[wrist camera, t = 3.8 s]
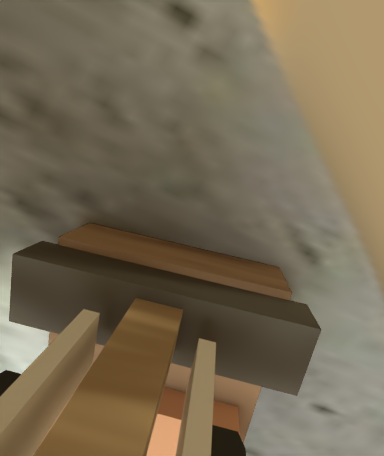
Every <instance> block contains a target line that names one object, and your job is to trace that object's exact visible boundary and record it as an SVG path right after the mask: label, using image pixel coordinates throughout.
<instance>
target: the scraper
mask: <svg viewBox="0 0 384 456" xmlns="http://www.w3.org/2000/svg"><path fill="white" fill-rule="evenodd" d="M83 309H86V310H89V311H93V312H97V313H100V316H99V323H98V330H97V337H96V344H99V345H103V346H104V348H103V349H102V351H101V352H100V354H99V355H98V357H97V358H96V360H95V362H94V363H93V365H92V366H91V368H90V369H89V371H88V372H87V374H86V375H85V377H84V379H83V380H82V382H81V383H80V385H79V386H78V388H77V389H76V391H75V392H74V394H73V395H72V397H71V399H70V400H69V402H68V403H67V405H66V406H65V408H64V409H63V411H62V412H61V414H60V416H59V417H58V419H57V420H56V422H55V423H54V425H53V426H52V428H51V429H50V431H49V433H48V434H47V436H46V437H45V439H44V440H43V442H42V443H41V445H40V446H39V448H38V449H37V451H36V453H35V454H34V456H146V455H147V451H148V447H149V443H150V440H151V436H152V432H153V428H154V425H155V421H156V417H157V413H158V410H159V406H160V402H161V398H162V395H163V391H164V387H165V383H166V379H167V376H168V372H169V368H170V364H171V363H173V364H176V365H180V366H184V367H188V368H192V365H193V361H194V357H195V353H196V349H197V345H198V341H199V338H200V339H204V340H208V341H212V342H216V356H215V375H219V376H223V377H227V378H230V379H234V380H238V381H242V382H246V383H250V384H253V385H257V386H261V387H265V388H269V389H273V390H277V391H280V392H284V393H288V394H292V395H296V396H297V395H298V392H299V389H300V386H301V384H302V381H303V378H304V375H305V373H306V370H307V367H308V364H309V362H310V359H311V356H312V353H313V351H314V348H315V345H316V342H317V340H318V337H319V334H320V332H321V328H320V327H319V325H318V323H317V321H316V320H315V318H314V316H313V314H312V313H311V311H310V309H309V307H308V306H307V305H306V304H302V303H298V302H294V301H290V300H286V299H282V298H277V297H273V296H269V295H265V294H261V293H257V292H252V291H248V290H244V289H240V288H236V287H232V286H227V285H223V284H219V283H215V282H211V281H207V280H203V279H198V278H194V277H190V276H186V275H182V274H178V273H173V272H169V271H165V270H161V269H157V268H153V267H149V266H144V265H140V264H136V263H132V262H128V261H124V260H119V259H115V258H111V257H107V256H103V255H99V254H95V253H90V252H86V251H82V250H78V249H74V248H70V247H65V246H61V245H57V244H53V243H49V242H45V241H41V242H39V243H37V244H34V245H32V246H30V247H27V248H25V249H23V250H21V251H18V252H16V253H14V254H13V259H12V277H11V295H10V313H9V321H11V322H15V323H19V324H22V325H26V326H30V327H34V328H38V329H42V330H46V331H49V332H53V333H57V334H60V333H61V332H62V331H63V330H64V329H65V328H66V327H67V326H68V325H69V324H70V323H71V322H72V321H73V320H74V319H75V318H76V316H77V315H78V314H79V313H80V312H81V311H82V310H83Z"/></svg>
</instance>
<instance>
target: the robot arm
mask: <svg viewBox="0 0 384 456" xmlns="http://www.w3.org/2000/svg"><path fill="white" fill-rule="evenodd" d="M99 316H100V313H97V312H93V311H89V310H86V309H83V310H82V311H81V312H80V313H79V314H78V315H77V316H76V318H75V319H74V320H73V321H72V322H71V323H70V324H69V325H68V326H67V327H66V328H65V329H64V330H63V331H62V332H61V333H60V334H59V335H58V336H57V338H56V339H55V340H54V341H53V342H52V343H51V344H50V345H49V346H48V347H47V348H46V349H45V350H44V351H43V352H42V353H41V354H40V355H39V356H38V357H37V359H36V360H35V361H34V362H33V363H32V364H31V365H30V366H29V367H28V368H27V369H26V370H25V371H24V372H23V373H22V374H19V373H15V372H12V371H8V370H5V371H4V372H2V373H0V456H33V455H34V454H35V452H36V451H37V449H38V447H39V446H40V444H41V443H42V441H43V440H44V438H45V437H46V435H47V434H48V432H49V431H50V429H51V427H52V426H53V424H54V423H55V421H56V420H57V418H58V417H59V415H60V414H61V412H62V410H63V409H64V407H65V406H66V404H67V403H68V401H69V400H70V398H71V397H72V395H73V394H74V392H75V390H76V389H77V387H78V386H79V384H80V383H81V381H82V380H83V378H84V377H85V375H86V374H87V372H88V370H89V369H90V367H91V366H92V364H93V357H94V350H95V343H96V337H97V330H98V323H99ZM215 356H216V342H212V341H208V340H204V339H200V338H199V341H198V345H197V349H196V353H195V357H194V361H193V365H192V369H191V373H190V377H189V381H188V385H187V389H186V395H185V401H184V407H183V413H182V419H181V425H180V432H179V438H178V444H177V450H176V456H246V451H245V447H244V444H243V442H242V440H241V437H240V435H239V433H238V432H237V431H234V430H230V429H226V428H223V427H219V426H215V425H212V421H213V399H214V377H215Z"/></svg>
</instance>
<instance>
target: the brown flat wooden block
mask: <svg viewBox="0 0 384 456" xmlns="http://www.w3.org/2000/svg"><path fill="white" fill-rule="evenodd" d="M58 245H61V246H65V247H70V248H74V249H78V250H82V251H86V252H90V253H95V254H99V255H103V256H107V257H111V258H115V259H119V260H124V261H128V262H132V263H136V264H140V265H144V266H149V267H153V268H157V269H161V270H165V271H169V272H173V273H178V274H182V275H186V276H190V277H194V278H198V279H203V280H207V281H211V282H215V283H219V284H223V285H227V286H232V287H236V288H240V289H244V290H248V291H252V292H257V293H261V294H265V295H269V296H273V297H277V298H282V299H286V300H290V297H291V294H292V292H291V290H290V288H289V286H288V284H287V282H286V280H285V278H284V276H283V274H282V272H281V270H280V268H279V267H275V266H271V265H267V264H263V263H258V262H254V261H250V260H246V259H241V258H237V257H233V256H228V255H224V254H220V253H216V252H211V251H207V250H203V249H199V248H194V247H190V246H186V245H182V244H177V243H173V242H169V241H164V240H160V239H156V238H152V237H147V236H143V235H139V234H135V233H130V232H126V231H122V230H118V229H113V228H109V227H105V226H101V225H96V224H92V223H88V224H86V225H84V226H82V227H79V228H77V229H75V230H73V231H71V232H68V233H66V234H64V235H62V236H60V237H59V241H58ZM58 335H59V334H57V333H53V332H50V334H49V344H48V346H49V345H50V344H51V343H52V342H53V341H54V340H55V339H56V338H57V336H58ZM103 348H104V346H103V345H99V344H96V343H95V350H94V357H93V363H94V362H95V360H96V358H97V357H98V355H99V354H100V352H101V351H102V349H103ZM92 365H93V364H92ZM90 368H91V367H90ZM191 369H192V368H188V367H184V366H180V365H176V364H173V363H171V364H170V368H169V372H168V376H167V379H166V383H165V387H164V388H168V389H172V390H176V391H179V392H183V393H186V389H187V385H188V381H189V377H190V373H191ZM260 390H261V386H257V385H253V384H250V383H246V382H242V381H238V380H234V379H230V378H227V377H223V376H219V375H215V377H214V399H213V401H217V402H221V403H225V404H229V405H232V406H236V407H238V411H239V428H240V437H241V440H242V442H244V439H245V436H246V433H247V430H248V427H249V424H250V421H251V418H252V415H253V412H254V409H255V405H256V402H257V399H258V396H259V393H260ZM147 452H148V451H147ZM146 456H147V455H146Z"/></svg>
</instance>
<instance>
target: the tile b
mask: <svg viewBox="0 0 384 456" xmlns="http://www.w3.org/2000/svg"><path fill="white" fill-rule="evenodd" d="M185 395H186V393H183V392H179V391H176V390H172V389H168V388H164V391H163V395H162V398H161V402H160V406H159V410H158V413H157V417H156V421H155V425H154V428H153V432H152V436H151V440H150V443H149V447H148V452H147V456H176V450H177V444H178V438H179V432H180V425H181V419H182V413H183V407H184V401H185ZM212 425H215V426H219V427H223V428H226V429H230V430H234V431H237V432H238V433H239V435H240V428H239V411H238V407H236V406H232V405H229V404H225V403H221V402H217V401H213V421H212Z"/></svg>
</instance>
